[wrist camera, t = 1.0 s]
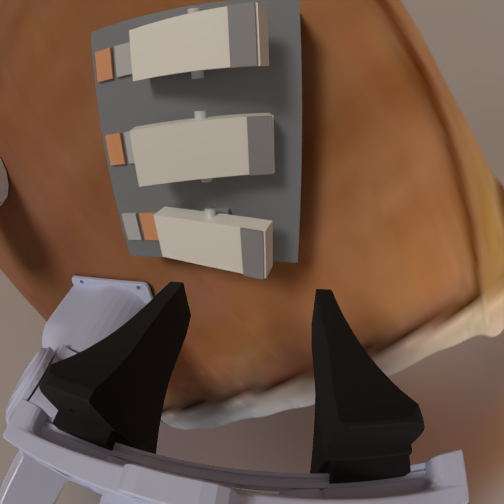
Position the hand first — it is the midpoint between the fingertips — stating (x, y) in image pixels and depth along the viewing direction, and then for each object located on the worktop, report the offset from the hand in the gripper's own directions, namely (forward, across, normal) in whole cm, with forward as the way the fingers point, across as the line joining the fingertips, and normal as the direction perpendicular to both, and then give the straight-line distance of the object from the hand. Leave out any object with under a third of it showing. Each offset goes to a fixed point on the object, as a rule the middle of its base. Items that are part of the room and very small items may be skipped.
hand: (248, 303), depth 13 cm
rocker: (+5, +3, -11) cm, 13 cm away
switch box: (+10, +4, -6) cm, 12 cm away
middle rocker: (+5, +3, -6) cm, 8 cm away
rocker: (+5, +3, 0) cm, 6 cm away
